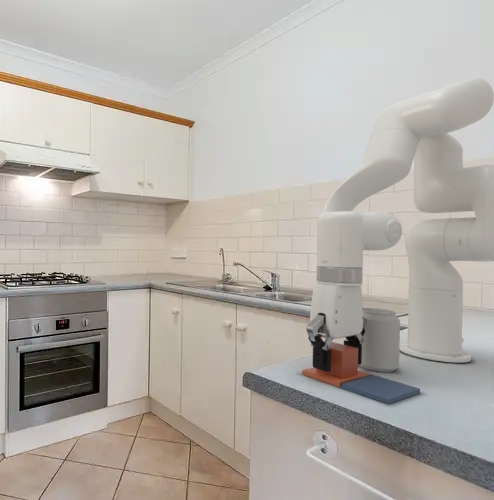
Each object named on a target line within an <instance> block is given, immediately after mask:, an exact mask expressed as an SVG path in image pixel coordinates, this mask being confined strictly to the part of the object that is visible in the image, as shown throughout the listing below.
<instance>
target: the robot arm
mask: <svg viewBox="0 0 494 500" xmlns="http://www.w3.org/2000/svg"><path fill="white" fill-rule="evenodd" d="M493 104H494V90H493V87H492V85H491V84H490V83H489V81H487V80H485V79H484V78H480V77H474V78H469V79H466V80H463V81H460V82H457V83H453V84H450V85H447V86H443V87H441V88H438V89H434V90H430V91H427V92H423V93H421V94H418V95H415V96H412V97H410V98H407V99H405V100H402V101H398V102H396V103H393V104H391V105H388V106H387V107H385V108H384V109H383V110H381V111H380V113H379V114H378V115H377V117H376V120H375V121H374V125H373V128H372V131H371V133H370V137H369V140H368V143H367V146H366V149H365V152H364V155H363V158H362V160H361V163H360V165H359V167H358V168H356V169H355V170H354V171H353V172H352V173H351V174H350V175H348V176H347V177H346V178H345V179H344V180H343V181H342V182H341V183H340V184H339V185H338V186H337V187H336V188H335V189H334V190H333V192H332V193H331V194H330V195H329V197H328V198H327V200H326V203H325V205H324V208H323V210H322V213H321V214H320V215H319V216H318V217H317V222H316V223H317V225H316V226H317V228H316V231H317V232H316V282H315V284H314V285H313V289H312V290H313V291H312V297H311V303H310V305H311V306H310V312H309V313H310V314H309V323H308V324H307V325H306V327H305V329H306V333H307V336H308V341H309V342H310V346H311V348H312V368H316V369H319V370H322V371H325V372H330V371H331V350H328V349H329V347H330V345H331V342H333V340H334V339H335V340H336V339H342V338H345V339H344V340H343V345H347V346H351V347H355V348H358V365H359V364H361V363H362V343H363V341H364V339H363V335H364V334H365V327H366V324H367V319H366V318H365V317H363V308H364V301H363V291H362V286H363V274H364V273H363V269H364V267H363V266H364V263H363V262H364V251H385V250H388V249H391V248H393V247H394V246H396V245H397V244H398V243H399V242H400V240H401V238H402V235H403V226H402V224H401V222H400V220H399V219H398V217H396V216H395V215H393V214H391V213H389V212H384V211H368V212H358V211H354V210H355V209H356V207H357V206H359V204H360V203H362V202H364V201H366V199H368V198H370V197H371V196H374V195H377V193H380V192H382V191H385V190H387V189H388V188H390V187H392V186H394V185H396V184H398V183H399V182H401V181H403V180H405V178H406V177H407V176H408V175H409V174H410V171H411V168H412V165H413V202H414V206H415V208H416V210H418V211H420V212H422V213H426V214H445V213H446V214H447V213H462V212H464V213H465V212H474V216H473V217H472V216H471V217H450V218H446V217H445V218H431V219H424V220H420V221H416V222H414V223H412V224H411V225H409V226H408V227H407V229H406V230H405V232H404V246H405V250H406V256H407V262H408V306H407V307H408V313H407V342H404V343H401V344H400V346H399V351H400V352H401V353H404V354H406V355H409V356H412V357H416V358H420V359H425V360H429V361H436V362H443V363H453V364H454V363H455V364H457V363H458V364H460V363H461V364H462V363H463V364H464V363H470V362H471V361H472V355H471V354H470V353H469V352H467V351H463V350H462V349H463V347H462V345H463V343H464V342H465V339H464V337H463V306H464V304H463V303H464V281H463V278H462V276H461V274H460V273H459V271H458V270H457V269H456V268H455V267H454V265H453V264H452V263H451V262H485V263H486V262H487V263H488V262H494V164H483V165H476V166H468V167H464V162H463V161H464V157H463V156H464V150H463V146H462V144H461V143H460V141H459V140H457V139H456V137H454V136H453V135H452V134H450V133H452V132H456V131H459V130H462V129H464V128H466V127H468V126H470V125H472V124H475V123H477V122H479V121H481V120H482V119H484V118H485V117H486V116H487V115H488V114H489V113H490V111H491V109H492V107H493ZM323 338H324V339H323ZM360 343H361V344H360Z"/></svg>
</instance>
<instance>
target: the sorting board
mask: <svg viewBox="0 0 494 500" xmlns="http://www.w3.org/2000/svg"><path fill="white" fill-rule="evenodd" d="M301 375H303V376H306V377H309V378H312V379H314V380H318V381H320V382H324V383H325V384H329V385H331V386H335V387H338V388H340V389H344V390H346V391H349V392H351V393H354V394H358V395H361V396H363V397H366V398H369V399H372V400H375V401H378V402H381V403H384V404H387V405H391V404H393V403H396V402H399V401H402V400H405V399H409V398H410V397H414V396H416V395H419V394H421V388H419V387H416V386H413V385H409V384H406V383H402V382H399V381H396V380H392V379H388V378H385V377H382V376H379V375H376V374H372V373H369V372H365V371H361V370H358V375H354V376H350V377H346V378H343V379H341V378H338V377H335V376H332V375H329V374H326V373H323V372H320V371H317V370H316V368H314V367H310V368H306V369H302V371H301Z"/></svg>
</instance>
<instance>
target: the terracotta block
mask: <svg viewBox="0 0 494 500" xmlns="http://www.w3.org/2000/svg"><path fill="white" fill-rule="evenodd" d="M328 350H331V371H330V372H325V371H322V370H319V369H316V370H317V371H320V372H323V373H326V374H329V375H332V376H335V377H338V378H341V379H343V378H346V377H350V376H354V375H358V371H359V364H358V348H355V347H351V346H347V345H344V343H338V342H334V341H332V342H331V345H330V347H329V349H328Z"/></svg>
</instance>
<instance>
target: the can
mask: <svg viewBox="0 0 494 500" xmlns="http://www.w3.org/2000/svg"><path fill="white" fill-rule="evenodd" d="M396 314H397V312H396V311H395V310H391V309H385V308H377V307H363V317H365V318H366V319H367V324H366V327H365V334H364V335H363V339H364V341H363V343H362V363H361V364H358V366H360V367H361V368H364V369H367V370H370V371H374V372H381V373H391V372H394V371H395V370H397V369H399V368H400V349H399V347H400V343H401V342H400V340H401V319H399V317H398V316H397V315H396ZM360 344H361V343H360Z"/></svg>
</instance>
